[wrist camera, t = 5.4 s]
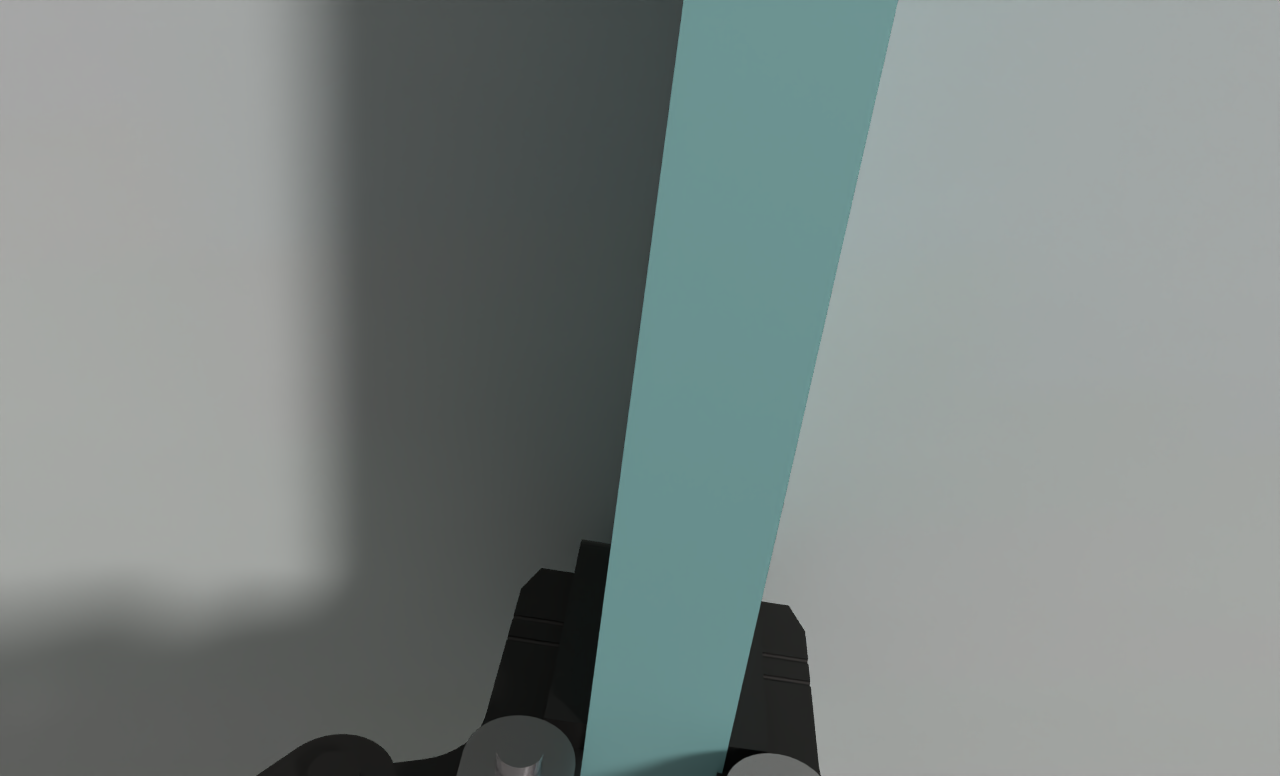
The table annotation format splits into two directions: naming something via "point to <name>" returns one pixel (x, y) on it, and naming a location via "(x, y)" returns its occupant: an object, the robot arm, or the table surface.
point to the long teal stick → (725, 361)
